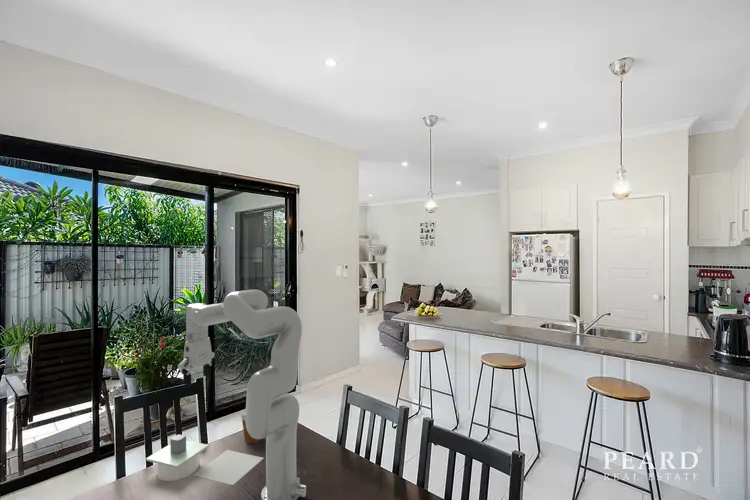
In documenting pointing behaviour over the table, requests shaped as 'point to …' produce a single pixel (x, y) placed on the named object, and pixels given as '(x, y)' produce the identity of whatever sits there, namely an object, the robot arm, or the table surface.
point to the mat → (228, 467)
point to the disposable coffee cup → (247, 437)
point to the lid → (177, 452)
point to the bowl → (177, 470)
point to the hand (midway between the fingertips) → (197, 380)
